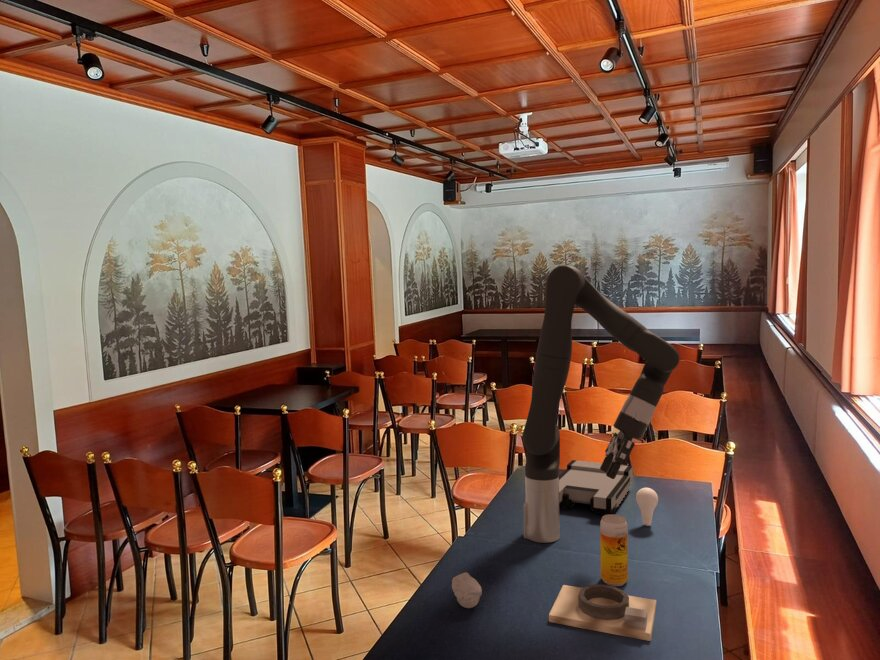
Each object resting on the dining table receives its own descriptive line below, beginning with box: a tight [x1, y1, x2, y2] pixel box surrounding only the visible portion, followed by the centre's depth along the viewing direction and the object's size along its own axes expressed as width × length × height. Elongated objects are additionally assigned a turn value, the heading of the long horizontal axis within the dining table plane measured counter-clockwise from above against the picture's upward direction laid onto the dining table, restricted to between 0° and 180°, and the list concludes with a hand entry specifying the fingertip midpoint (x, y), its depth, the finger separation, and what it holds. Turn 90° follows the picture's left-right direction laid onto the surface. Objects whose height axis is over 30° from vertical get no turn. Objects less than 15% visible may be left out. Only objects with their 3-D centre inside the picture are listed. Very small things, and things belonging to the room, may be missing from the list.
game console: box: [559, 459, 634, 515], centre depth 202 cm, size 21×32×8 cm, turn 152°
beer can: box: [599, 513, 629, 587], centre depth 145 cm, size 6×6×15 cm
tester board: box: [548, 583, 657, 642], centre depth 131 cm, size 20×14×4 cm
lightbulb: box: [635, 487, 659, 527], centre depth 178 cm, size 6×6×11 cm
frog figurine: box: [451, 571, 483, 609], centre depth 135 cm, size 6×7×7 cm
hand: (606, 474), depth 157 cm, fingers open, 8 cm apart
